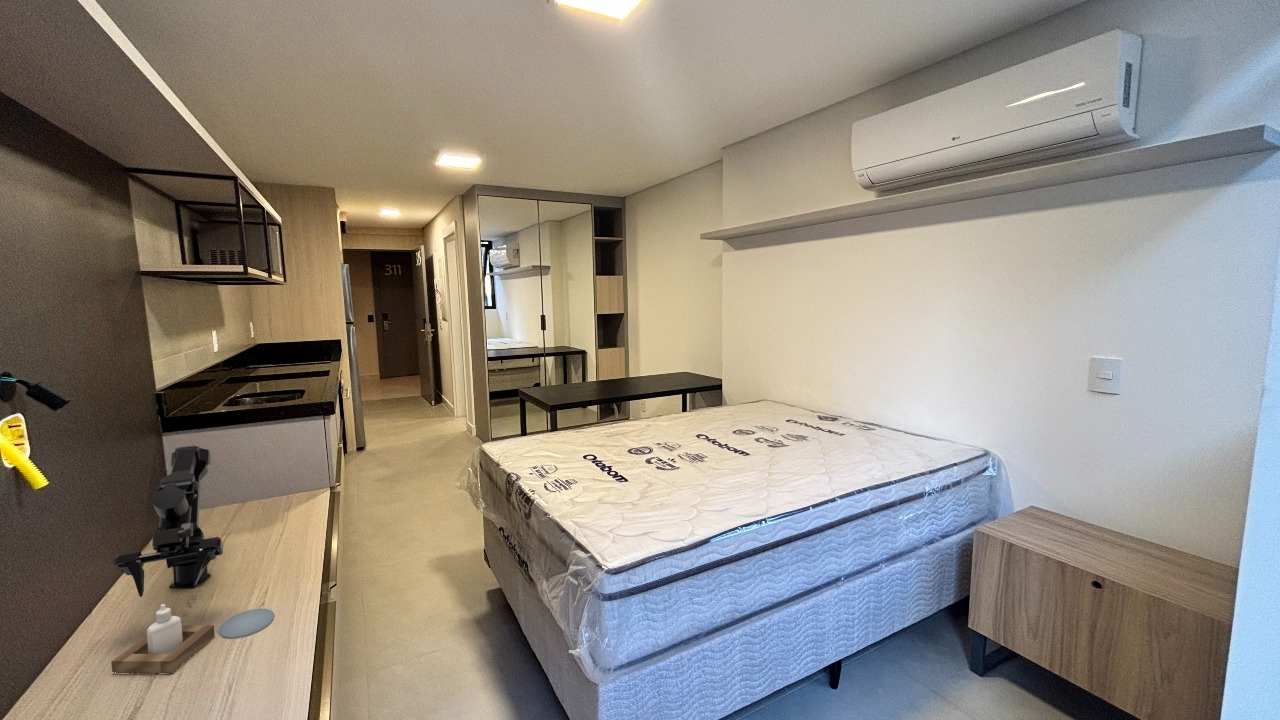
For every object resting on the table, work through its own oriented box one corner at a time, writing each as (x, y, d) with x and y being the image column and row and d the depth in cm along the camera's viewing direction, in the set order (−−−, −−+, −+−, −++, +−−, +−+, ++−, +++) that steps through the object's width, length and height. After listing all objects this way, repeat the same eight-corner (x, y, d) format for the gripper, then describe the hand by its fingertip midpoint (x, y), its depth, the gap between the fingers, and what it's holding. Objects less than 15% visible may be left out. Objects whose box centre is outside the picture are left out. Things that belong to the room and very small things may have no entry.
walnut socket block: (112, 674, 108) (111, 661, 108) (161, 636, 120) (160, 625, 120) (172, 674, 109) (171, 661, 109) (214, 636, 121) (214, 625, 121)
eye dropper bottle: (181, 656, 115) (178, 606, 113) (147, 665, 111) (143, 614, 110) (184, 644, 118) (181, 596, 117) (151, 653, 115) (147, 603, 114)
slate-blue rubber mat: (206, 638, 121) (206, 636, 121) (239, 609, 131) (239, 608, 131) (255, 638, 121) (255, 636, 121) (284, 610, 132) (284, 608, 132)
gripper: (112, 521, 115) (101, 591, 108) (219, 505, 126) (215, 568, 118) (125, 539, 123) (115, 606, 115) (224, 523, 133) (221, 583, 125)
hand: (168, 590), depth 118 cm, fingers open, 9 cm apart
